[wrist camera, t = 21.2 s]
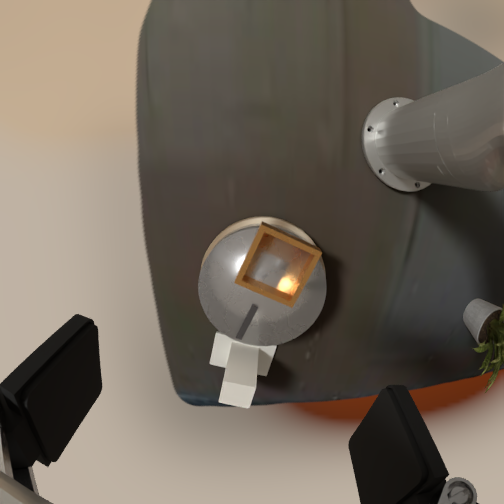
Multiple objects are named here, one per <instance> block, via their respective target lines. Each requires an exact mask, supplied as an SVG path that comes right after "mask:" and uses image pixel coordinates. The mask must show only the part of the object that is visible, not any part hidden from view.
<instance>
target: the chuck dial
mask: <svg viewBox="0 0 504 504" xmlns="http://www.w3.org/2000/svg"><path fill="white" fill-rule="evenodd" d="M321 254H322V251H321V250H320V248H319V247H317V246H315V245H312V244H310V243H308V242H307V241H306V240H305V239H304V238H303V237H301V236H300V235H298V234H297V233H296V232H294V231H292V230H290V229H288V228H285V227H283V226H279V225H275V224H268V223H265V222H263V221H262V222H261V223H256V224H250V225H246V226H243V227H240V228H238V229H235V230H233V231H231V232H230V233H228V234H227V235H225V236H224V237H223V238H222V239H221V240H220V241H219V242H218V243H217V244H216V245H215V246H214V248H213V249H212V251H211V252H210V254H209V255H208V256H207V258H206V260H205V262H204V264H203V266H202V269H201V272H200V276H199V283H198V290H199V298H200V302H201V305H202V307H203V310H204V312H205V314H206V315H207V317H208V319H209V320H210V321H211V323H212V324H213V325H214V326H215V327H216V328H217V329H218V330H219V331H221V332H222V333H223V334H225V335H226V336H228V337H229V338H231V339H233V340H236V341H238V342H241V343H244V344H248V345H254V346H272V345H278V344H282V343H285V342H288V341H290V340H292V339H294V338H296V337H298V336H299V335H301V334H302V333H304V332H305V331H306V330H307V329H308V328H309V327H310V326H311V325H312V324H313V323H314V322H315V320H316V319H317V318H318V316H319V314H320V312H321V310H322V308H323V305H324V302H325V298H326V288H327V286H326V277H325V273H324V270H323V267H322V265H321V262H320V261H319V258H320V256H321Z"/></svg>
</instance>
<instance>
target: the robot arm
mask: <svg viewBox="0 0 504 504" xmlns="http://www.w3.org/2000/svg"><path fill="white" fill-rule="evenodd" d="M393 103H394V104H395V106H394V104H393ZM367 128H369V129H370V132H368V130H367ZM362 149H363V152H364V156H365V159H366V161H367V163H368V165H369V167H370V168H371V170H372V171H373V173H374V174H375V175H376V176H377V177H378V178H379V179H380V180H381V181H382V182H383V183H385V184H386V185H387V186H390V187H392V188H394V189H397V190H401V191H407V192H411V191H418V190H421V189H424V188H426V187H427V186H429V185H430V184H431V183H435V184H441V185H448V186H454V187H460V188H466V189H471V190H478V191H484V192H493V191H499V190H502V189H504V63H502V64H500V65H499V66H497V67H496V68H494V69H492V70H490V71H488V72H486V73H484V74H482V75H479V76H477V77H474V78H472V79H470V80H467V81H465V82H462V83H460V84H457V85H454V86H452V87H449V88H446V89H444V90H441V91H438V92H436V93H433V94H431V95H428V96H426V97H423V98H421V99H418V100H416V101H414V100H411V99H408V98H401V97H398V98H390V99H387V100H384V101H382V102H381V103H379V104H378V105H376V106H375V107H374V108H373V109H372V110H371V111H370V113H369V114H368V115H367V117H366V120H365V122H364V125H363V129H362ZM379 170H381V173H379ZM415 183H416V185H415ZM101 390H102V378H101V369H100V356H99V341H98V328H97V326H96V325H94V321H93V320H92V319H89V318H87V317H84V316H82V315H79V314H76V315H74V316H73V317H72V318H71V319H70V320H69V321H68V322H66V323H65V324H64V325H63V326H62V327H61V328H59V329H58V330H57V331H56V332H55V333H54V334H53V335H52V336H51V337H49V338H48V339H47V340H46V341H45V342H44V343H43V344H42V345H40V346H39V347H38V348H37V349H36V350H35V351H34V352H33V353H32V354H31V355H30V356H29V357H27V358H26V359H25V361H23V362H22V363H21V364H20V365H19V366H18V367H17V368H16V369H15V370H14V371H13V372H12V373H11V374H10V375H9V376H8V377H7V378H6V379H5V380H4V381H3V382H2V383H1V384H0V504H53V503H51V502H49V501H48V500H46V499H44V498H42V497H41V496H39V493H38V489H37V485H36V482H35V478H34V474H33V470H32V466H33V464H34V462H35V461H36V460H37V461H39V462H40V463H42V464H44V465H45V466H49V465H50V463H51V462H56V461H57V460H58V459H59V457H60V455H61V454H62V452H63V451H64V449H65V447H66V446H67V444H68V443H69V441H70V440H71V438H72V436H73V435H74V433H75V432H76V430H77V429H78V427H79V425H80V424H81V422H82V421H83V419H84V418H85V416H86V415H87V413H88V412H89V410H90V409H91V407H92V405H93V404H94V403H95V401H96V400H97V398H98V397H99V395H100V393H101ZM349 451H350V455H351V460H352V464H353V469H354V474H355V478H356V483H357V487H358V492H359V497H360V502H361V504H478V503H477V502H476V501H477V493H476V490H475V488H474V486H473V485H472V484H471V483H470V482H469V481H468V480H466V479H464V478H460V477H455V478H452V479H450V480H449V481H447V482H446V480H445V478H446V477H447V476H448V475H449V473H448V471H447V469H446V467H445V464H444V462H443V460H442V458H441V456H440V453H439V451H438V449H437V447H436V445H435V443H434V441H433V439H432V437H431V435H430V433H429V430H428V429H427V426H426V424H425V422H424V420H423V418H422V417H421V414H420V413H419V411H418V409H417V407H416V405H415V403H414V401H413V399H412V397H411V395H410V393H409V391H408V390H407V388H406V387H405V386H403V385H388V386H387V387H386V388H385V389H383V390H382V391H381V392H380V394H379V395H378V397H377V398H376V400H375V402H374V403H373V405H372V407H371V408H370V410H369V411H368V413H367V414H366V416H365V417H364V419H363V420H362V422H361V423H360V425H359V426H358V428H357V429H356V431H355V432H354V434H353V435H352V436H351V438H350V440H349Z"/></svg>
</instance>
